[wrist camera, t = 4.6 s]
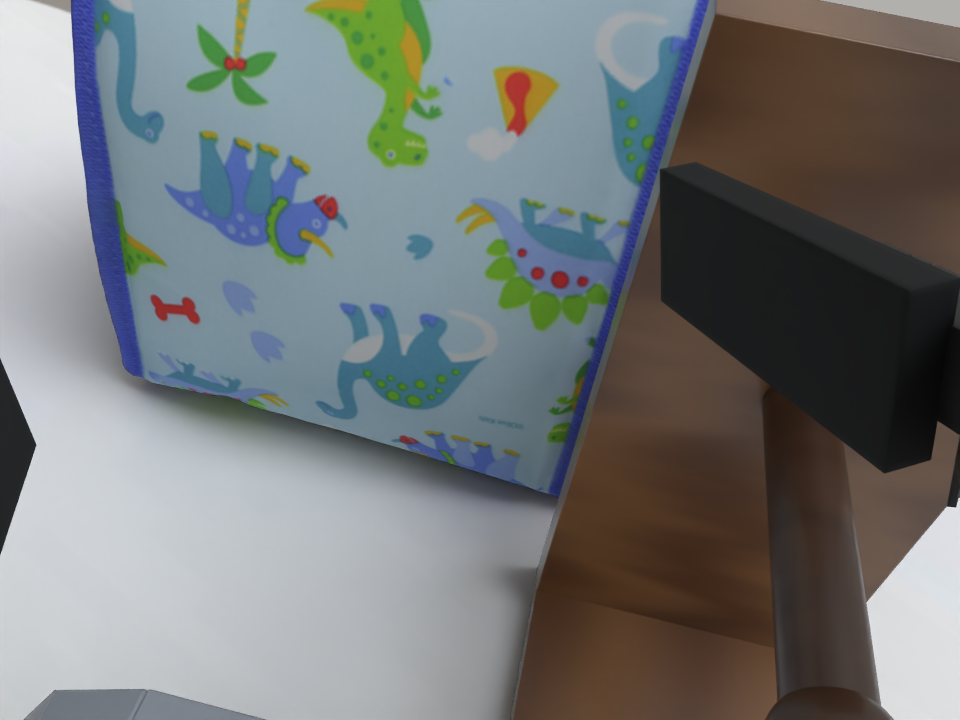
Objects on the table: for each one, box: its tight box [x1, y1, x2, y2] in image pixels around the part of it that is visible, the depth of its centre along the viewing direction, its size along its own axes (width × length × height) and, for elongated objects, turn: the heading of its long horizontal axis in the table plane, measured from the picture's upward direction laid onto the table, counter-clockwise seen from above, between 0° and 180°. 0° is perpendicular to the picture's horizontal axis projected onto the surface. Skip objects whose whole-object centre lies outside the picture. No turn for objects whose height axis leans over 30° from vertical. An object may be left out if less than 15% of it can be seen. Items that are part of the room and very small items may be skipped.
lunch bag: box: [71, 0, 709, 498], centre depth 35 cm, size 22×17×26 cm
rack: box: [510, 0, 960, 720], centre depth 22 cm, size 11×13×24 cm
